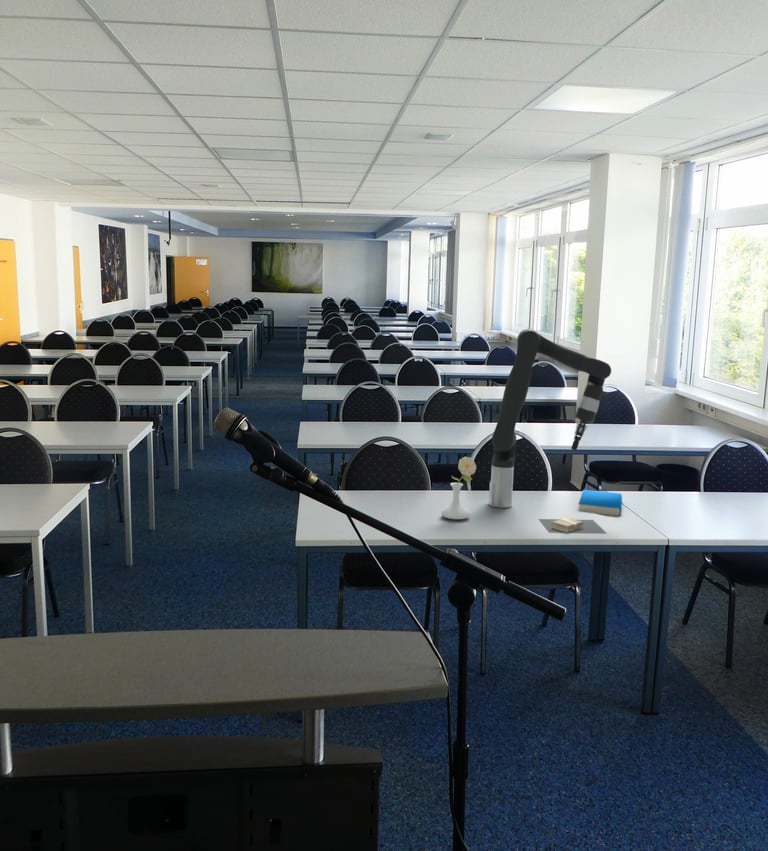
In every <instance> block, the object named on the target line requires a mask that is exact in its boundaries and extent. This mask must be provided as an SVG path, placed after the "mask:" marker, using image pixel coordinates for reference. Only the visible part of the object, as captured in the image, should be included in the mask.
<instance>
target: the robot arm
mask: <svg viewBox="0 0 768 851" xmlns="http://www.w3.org/2000/svg"><path fill="white" fill-rule="evenodd" d="M516 341H517V347H516V354H515V360H514V363H513V366H512V368H511V369H510V373H509V374H508V378H507V381H506V383H505V387H504V392H503V396H502V400H501V405H500V412H499V416H498V421H497V422H496V426H495V428H494V430H493V433H492V436H491V444H492V446H493V454H492V458H491V470H490V471H491V473H490V474H491V476H490V481H489V488H488V489H489V491H488V493H489V494H488V504H489V506H490V507H492V508H494V507H495V508H499V509H501V508H502V509H504V508H505V509H507V508H511V507H512V505H513V504H512V503H513V486H514V469H515V461H516V460H515V459H516V454H517V453H516V452H517V451H516V450H517V435H516V432H515V430H516V424H517V422H518V418H519V415H520V413H521V412H522V409H523V408H524V404H525V402H526V400H527V396H528V391H529V387H530V383H531V377H532V372H533V370H532V369H533V365H534V362H535V359H536V356H537V353H538V354H541V355H544V356H546V357H548V358H550V359H553V360H555V361H556V362H558V363H560V364H562V365H564V366H566V367H568V368H571V369H573V370H576V371H578V372H583V373H586V374H588V378H587V382H586V386H585V389H584V391H583V394H582V397H581V399H580V401H579V404H578V407H577V410H576V413H575V415H574V417H575V418H576V419H577V420H580V422H579V423H576V428H575V431H574V437H573V442H572V445H571V450H573V451H577V450H578V446H579V445H580V442H581V441H582V437H584V434H585V432H586V430H587V428H588V426H587V425H586V424H587V423H591V424H593V423H594V421H595V417H596V415H597V413H598V409H599V406H600V402H601V398H602V395H603V392H604V388H603V387H604V384H605V380H606V379H608V378H609V377H610V375H611V373H612V368H611V365H610V364H609V363H608V362H605V361H603V360H601V359H598V358H594V357H591V356H589V355H587V354H584V353H582V352H579V351H577V350H575V349H572V348H570V347H566V346H565V345H562V344H559V343H556V342H554V341H552V340H550V339H548V338H546V337H544V336H543V335H541V334H539V333H538V332H537V331H536V330H535V329H531V328H525V329H523V330H520V332H519V334H518V335H517V339H516Z"/></svg>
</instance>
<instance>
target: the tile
mask: <svg viewBox="0 0 768 851" xmlns="http://www.w3.org/2000/svg"><path fill="white" fill-rule="evenodd" d="M560 519H561V518H560ZM579 520H580V519H575V518H571V517H565V518H562V519H561V520H557V521H554V522H552V528H554V529H557V530H561V531H564V532H570V531H573V530H577V529H580V528H583V522H582V521H579Z"/></svg>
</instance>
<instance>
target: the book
mask: <svg viewBox="0 0 768 851" xmlns="http://www.w3.org/2000/svg"><path fill="white" fill-rule="evenodd" d="M581 492H582V493H581V496H580V499H579V501H578V505H579V506H578V510H579V511H583V512H587V513H590V512H594V513H593V514H599V513H604V514H603V515H608V514H612V515H611V516H620V515H621V514H622V513H621V512H622V503H623V496H622V495H623V494H622V493H620V492H618V493H617V492H609V491H601V490H600V491H599V490H588V489H583V490H582V491H581ZM619 514H620V515H619Z"/></svg>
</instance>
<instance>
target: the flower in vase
mask: <svg viewBox="0 0 768 851" xmlns="http://www.w3.org/2000/svg"><path fill="white" fill-rule="evenodd" d="M457 464H458V467H457V468H458V470H459V472H460V473H461V477H460V479H459V478H457V477H455V476H453V475H451V479H453V480H455V481H457V482H451V483H450V486H451V488H452V491H453V492H452V494H453V498H452V502H451V503H449V504H448V505H447V506H446V507H444V508H443V509H442V510H441V512H440V513H441V516H442V517H445V518H446V519H449V520H465V519H468V518H469V517H470V515H471V513H470V511H469V510H468V509H467V508H466V507H465V506H463V504H461V503H460V492H461V489H462V487H463V486H464V484H463V483H461V480H462V479H463V480H464V481H465V482H469V481H472V480H473V478H472V477H471V476H472V475H474V474H475V473H476V470H477V464H476V463H475V461H474V459H473V458H471V457H470V456H468V457H467V456H464V457H461V458H460V459H459V461H458V463H457Z"/></svg>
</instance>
